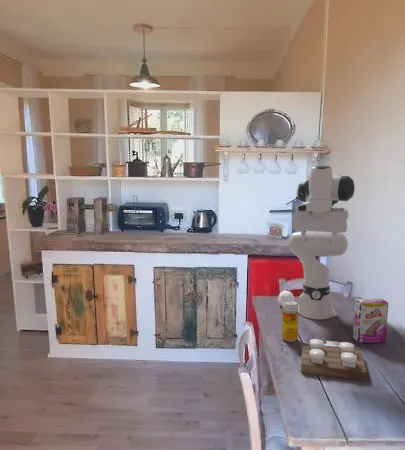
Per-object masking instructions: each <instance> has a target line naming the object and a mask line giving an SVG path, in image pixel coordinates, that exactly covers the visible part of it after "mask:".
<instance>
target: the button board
mask: <svg viewBox="0 0 405 450" xmlns="http://www.w3.org/2000/svg"><path fill="white" fill-rule="evenodd" d="M301 345H302V346H301V361H300V363H301V364H300V373H303V374H309V375H317V376H318V375H319V376H324V377H331V378H340V379H341V378H342V379H348V380H354V381H355V380H356V381H363V382H367V381H368V380H367V378H368V377H367V376H368V371H367V367H366V363H365V360H364V356H363V352H362V349H360V348H354V352H353V354H355V355H356V356H357V363H356V368H351V367H343V366H342V361H341V354H340V349H339V347H335V346H325V345H324V348H323V349H322V351H324V353H325V358H324V359H323V364H318V363H311V358H310V350H311V347H310V343H307V342H306V343H304V342H302V343H301Z"/></svg>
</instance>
